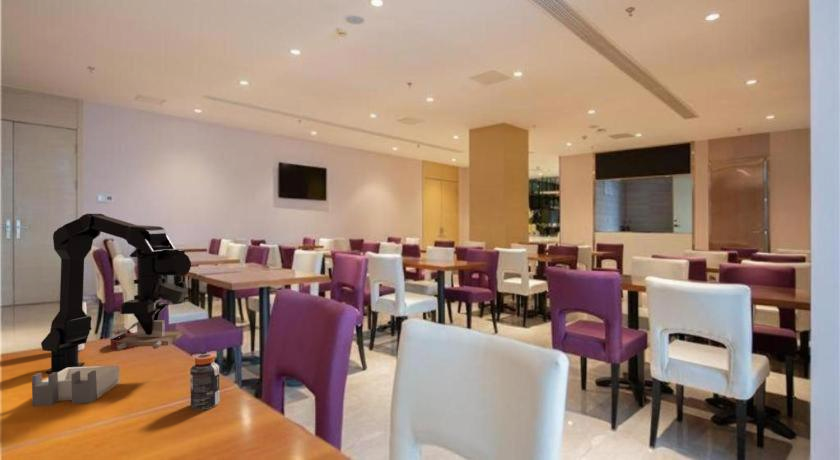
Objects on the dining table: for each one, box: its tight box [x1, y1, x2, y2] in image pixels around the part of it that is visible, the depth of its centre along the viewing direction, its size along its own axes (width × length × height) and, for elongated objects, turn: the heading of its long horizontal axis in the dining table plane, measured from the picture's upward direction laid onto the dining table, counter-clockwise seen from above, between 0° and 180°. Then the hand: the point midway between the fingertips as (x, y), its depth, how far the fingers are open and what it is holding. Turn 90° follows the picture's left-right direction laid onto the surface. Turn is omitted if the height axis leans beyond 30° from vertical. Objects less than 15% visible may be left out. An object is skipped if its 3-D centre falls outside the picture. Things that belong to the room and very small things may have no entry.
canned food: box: [110, 320, 139, 351], centre depth 145 cm, size 11×10×10 cm
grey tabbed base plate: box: [116, 319, 184, 351], centre depth 114 cm, size 12×12×5 cm
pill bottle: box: [189, 353, 220, 411], centre depth 100 cm, size 6×6×11 cm
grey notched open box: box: [31, 364, 120, 407], centre depth 105 cm, size 12×12×7 cm
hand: (150, 333), depth 115 cm, fingers closed on grey tabbed base plate
